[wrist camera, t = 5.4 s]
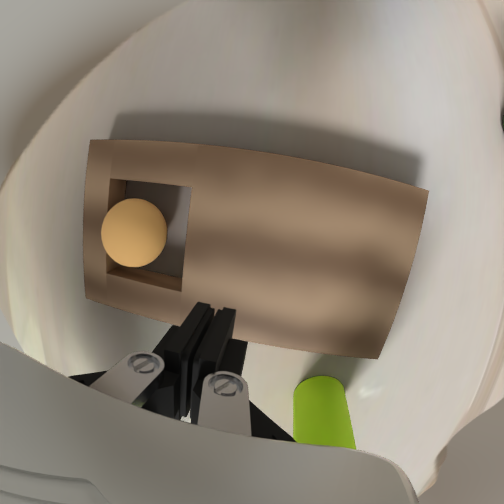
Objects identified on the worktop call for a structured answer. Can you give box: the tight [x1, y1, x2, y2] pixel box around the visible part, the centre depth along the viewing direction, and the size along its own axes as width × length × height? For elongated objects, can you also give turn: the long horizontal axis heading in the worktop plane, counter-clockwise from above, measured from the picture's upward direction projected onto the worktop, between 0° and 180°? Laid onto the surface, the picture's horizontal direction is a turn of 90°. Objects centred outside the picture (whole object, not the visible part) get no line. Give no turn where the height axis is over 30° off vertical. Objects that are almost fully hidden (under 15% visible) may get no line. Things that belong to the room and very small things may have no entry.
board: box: [83, 140, 429, 359], centre depth 24 cm, size 16×30×3 cm, turn 81°
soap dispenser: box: [293, 376, 356, 450], centre depth 19 cm, size 6×7×20 cm
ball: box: [101, 198, 167, 267], centre depth 23 cm, size 6×6×6 cm
